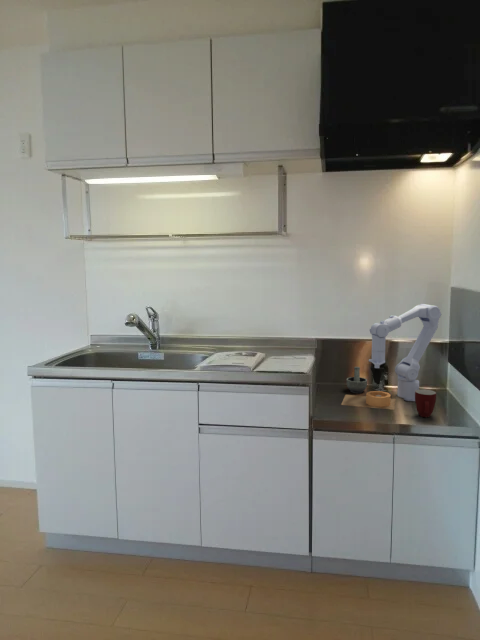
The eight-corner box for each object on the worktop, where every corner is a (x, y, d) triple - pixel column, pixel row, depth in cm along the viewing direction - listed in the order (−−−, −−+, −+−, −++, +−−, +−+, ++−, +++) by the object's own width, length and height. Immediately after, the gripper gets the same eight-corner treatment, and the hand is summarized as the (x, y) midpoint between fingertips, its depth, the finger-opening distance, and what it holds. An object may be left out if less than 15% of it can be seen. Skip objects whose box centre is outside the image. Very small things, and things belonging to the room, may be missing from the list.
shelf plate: (395, 401, 224) (396, 391, 223) (394, 412, 209) (394, 401, 208) (345, 397, 231) (345, 387, 230) (340, 407, 216) (341, 396, 215)
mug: (439, 421, 198) (440, 396, 196) (418, 421, 198) (419, 396, 197) (432, 412, 208) (433, 389, 207) (412, 412, 209) (413, 389, 207)
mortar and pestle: (367, 397, 230) (367, 371, 229) (346, 396, 232) (346, 370, 231) (366, 390, 241) (367, 366, 240) (346, 389, 243) (347, 365, 242)
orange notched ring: (390, 400, 221) (391, 392, 220) (389, 407, 211) (390, 398, 211) (367, 398, 224) (367, 390, 223) (365, 405, 214) (365, 396, 214)
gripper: (370, 346, 230) (369, 375, 231) (367, 353, 216) (366, 383, 218) (386, 347, 227) (385, 377, 229) (384, 354, 214) (383, 385, 216)
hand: (377, 380), depth 223 cm, fingers open, 7 cm apart
